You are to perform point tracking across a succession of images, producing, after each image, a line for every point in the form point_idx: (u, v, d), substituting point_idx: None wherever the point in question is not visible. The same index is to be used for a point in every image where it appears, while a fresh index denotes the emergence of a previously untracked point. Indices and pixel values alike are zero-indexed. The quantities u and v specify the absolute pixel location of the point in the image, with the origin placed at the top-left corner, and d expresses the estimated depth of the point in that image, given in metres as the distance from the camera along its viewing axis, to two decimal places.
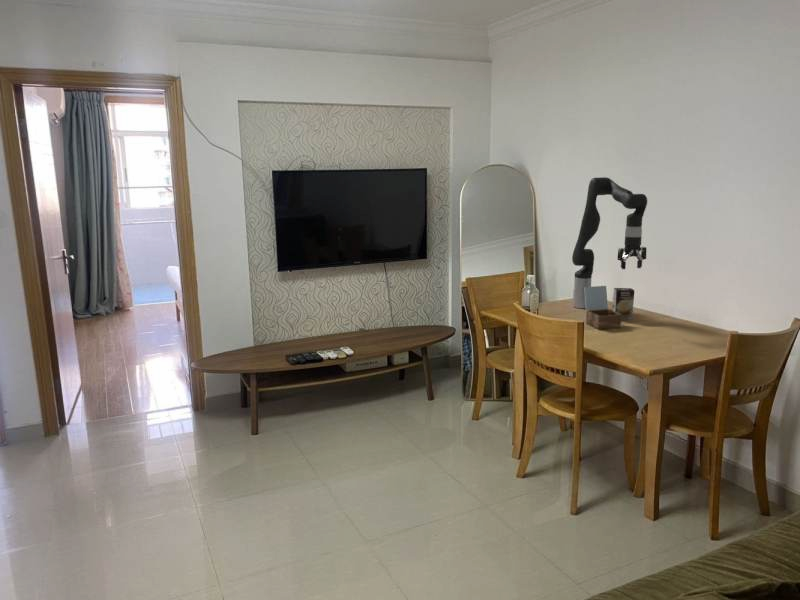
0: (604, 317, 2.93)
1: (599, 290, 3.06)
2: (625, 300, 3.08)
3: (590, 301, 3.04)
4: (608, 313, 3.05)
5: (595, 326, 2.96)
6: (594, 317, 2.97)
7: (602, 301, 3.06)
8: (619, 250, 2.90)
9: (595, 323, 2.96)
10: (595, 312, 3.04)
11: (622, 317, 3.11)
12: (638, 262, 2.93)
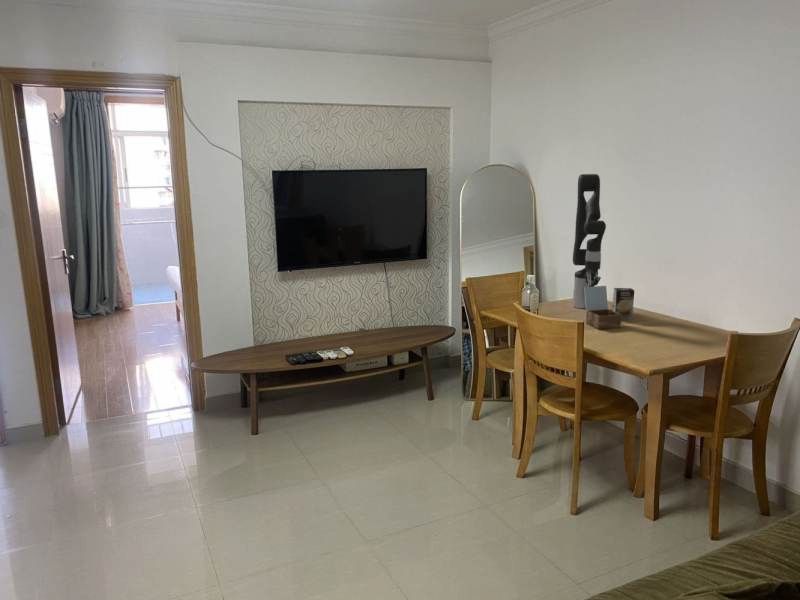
0: (604, 317, 2.93)
1: (599, 290, 3.06)
2: (625, 300, 3.08)
3: (590, 301, 3.04)
4: (608, 313, 3.05)
5: (595, 326, 2.96)
6: (594, 317, 2.97)
7: (602, 301, 3.06)
8: (597, 279, 3.02)
9: (595, 323, 2.96)
10: (595, 312, 3.04)
11: (622, 317, 3.11)
12: None
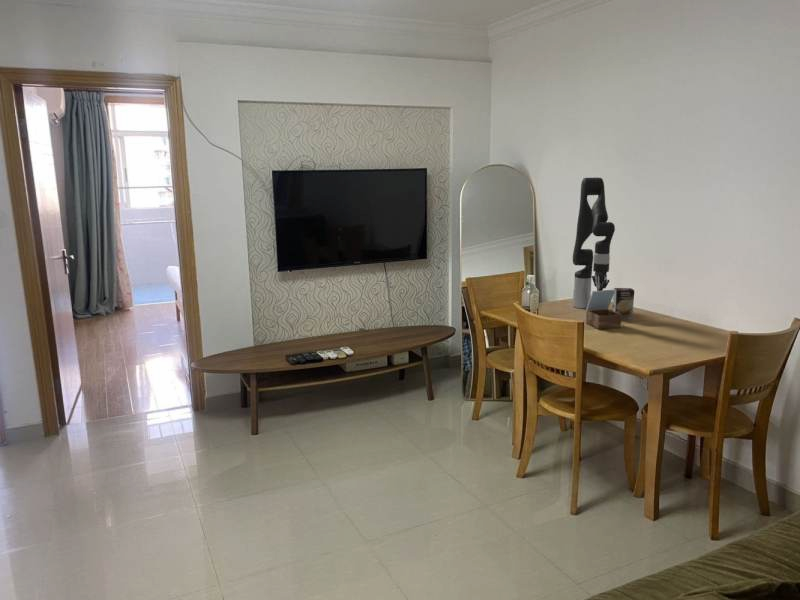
0: (604, 317, 2.93)
1: (606, 294, 2.99)
2: (625, 300, 3.08)
3: (593, 303, 3.02)
4: (608, 313, 3.05)
5: (595, 326, 2.96)
6: (594, 317, 2.97)
7: (605, 303, 3.03)
8: (606, 282, 2.95)
9: (595, 323, 2.96)
10: (595, 312, 3.04)
11: (622, 317, 3.11)
12: (599, 290, 3.01)
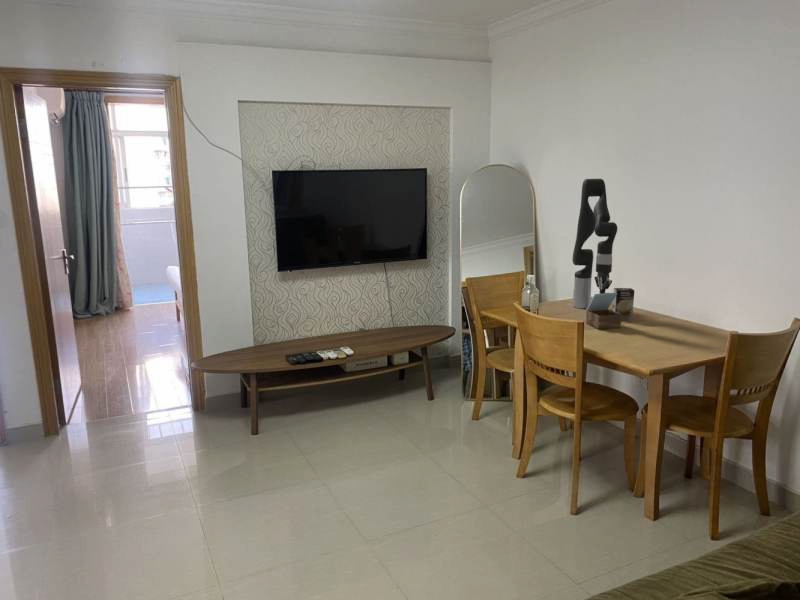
0: (604, 317, 2.93)
1: (608, 297, 2.98)
2: (625, 300, 3.08)
3: (594, 304, 3.01)
4: (608, 313, 3.05)
5: (595, 326, 2.96)
6: (594, 317, 2.97)
7: (606, 304, 3.03)
8: (608, 283, 2.93)
9: (595, 323, 2.96)
10: (595, 312, 3.04)
11: (622, 317, 3.11)
12: None
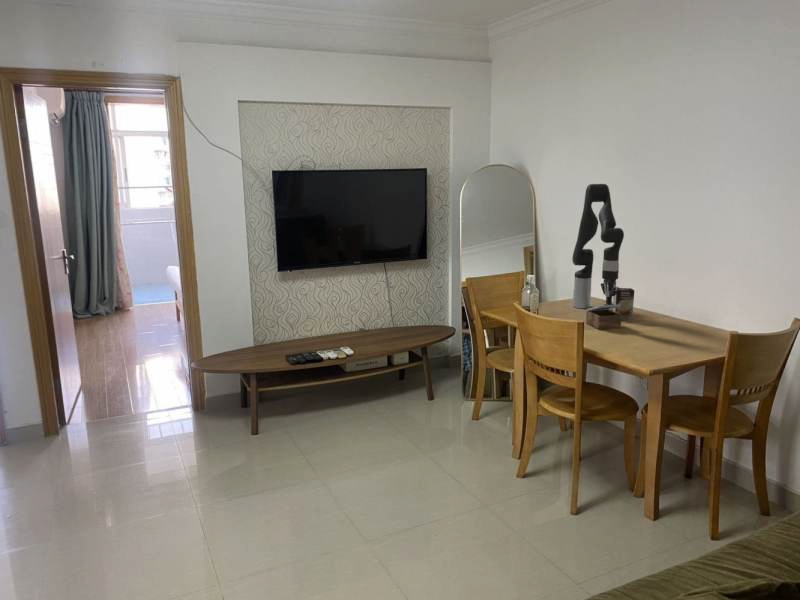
0: (604, 317, 2.93)
1: None
2: (625, 300, 3.08)
3: (595, 309, 3.00)
4: (608, 313, 3.05)
5: (595, 326, 2.96)
6: (594, 317, 2.97)
7: (607, 308, 3.02)
8: (615, 290, 2.87)
9: (595, 323, 2.96)
10: (595, 312, 3.04)
11: (622, 317, 3.11)
12: None
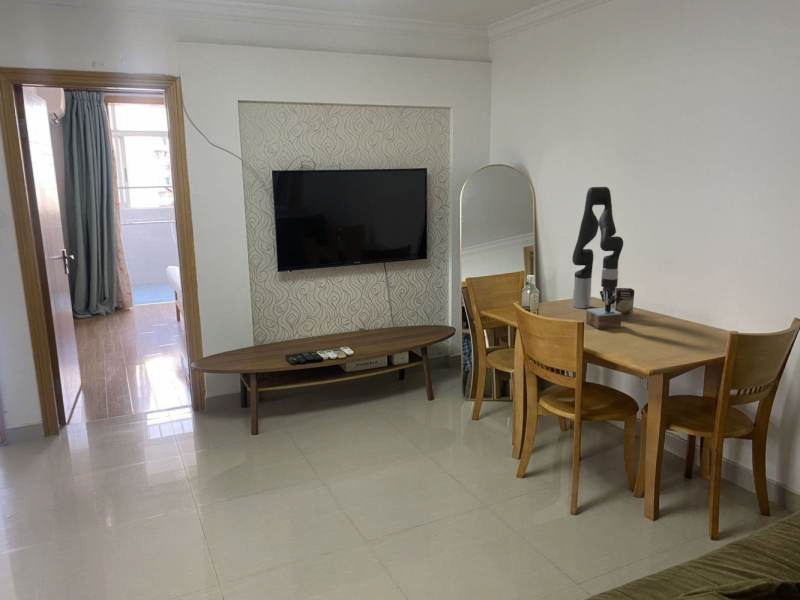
0: (604, 317, 2.93)
1: None
2: (625, 300, 3.08)
3: None
4: None
5: (595, 326, 2.96)
6: (594, 317, 2.97)
7: None
8: (614, 298, 2.89)
9: (595, 323, 2.96)
10: None
11: (622, 317, 3.11)
12: None
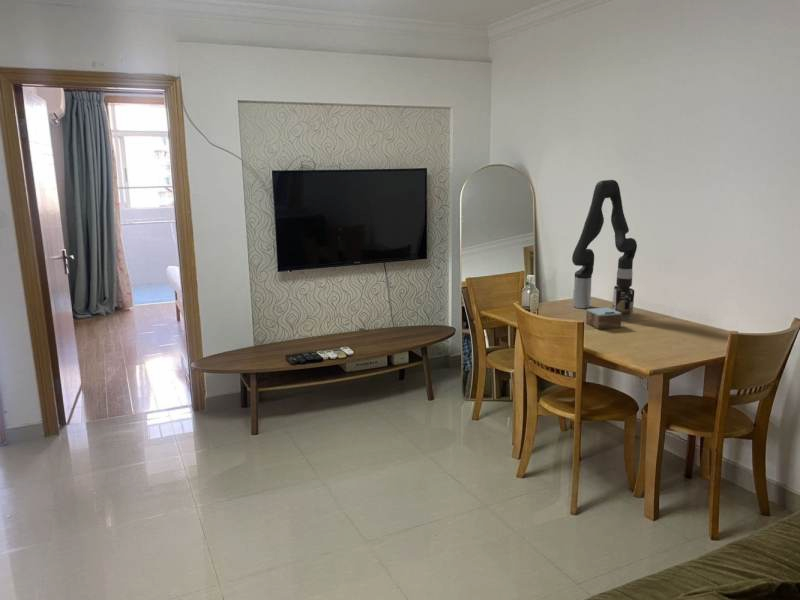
0: (604, 317, 2.93)
1: None
2: None
3: None
4: None
5: (595, 326, 2.96)
6: (594, 317, 2.97)
7: None
8: (631, 292, 3.04)
9: (595, 323, 2.96)
10: None
11: (622, 317, 3.11)
12: None
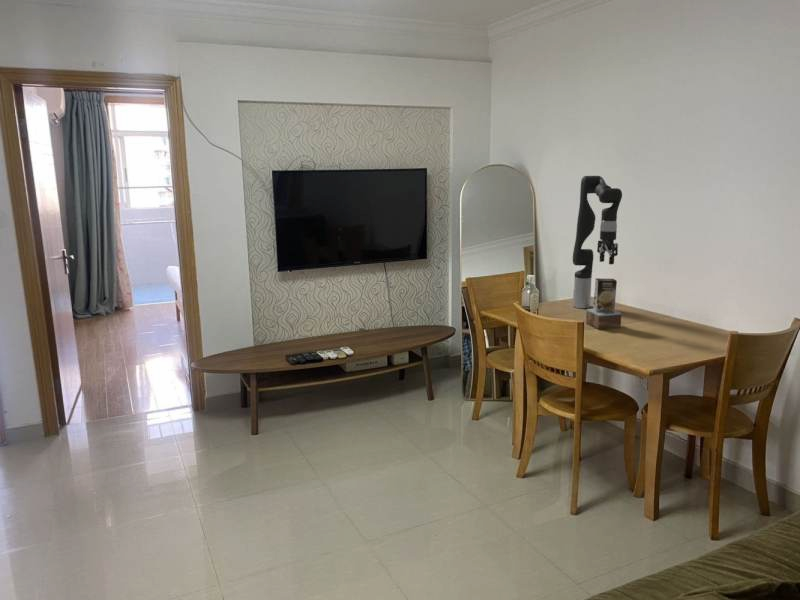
0: (604, 317, 2.93)
1: None
2: (607, 291, 2.94)
3: None
4: None
5: (595, 326, 2.96)
6: (594, 317, 2.97)
7: None
8: (615, 245, 2.85)
9: (595, 323, 2.96)
10: None
11: (604, 309, 2.96)
12: (602, 256, 2.97)
